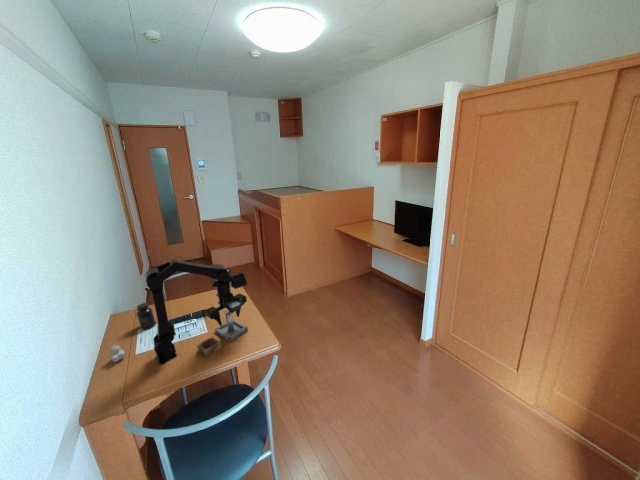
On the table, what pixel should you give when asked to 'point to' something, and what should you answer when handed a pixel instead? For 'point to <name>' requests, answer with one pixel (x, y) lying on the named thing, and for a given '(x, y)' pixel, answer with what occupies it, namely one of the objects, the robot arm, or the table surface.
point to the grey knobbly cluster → (116, 353)
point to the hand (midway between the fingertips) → (229, 321)
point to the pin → (229, 321)
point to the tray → (231, 335)
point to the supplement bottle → (145, 316)
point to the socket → (211, 349)
